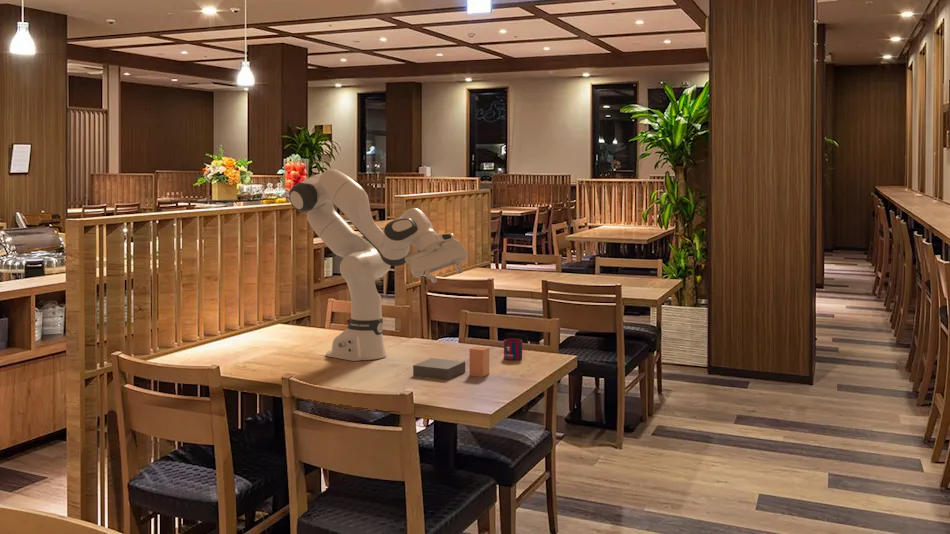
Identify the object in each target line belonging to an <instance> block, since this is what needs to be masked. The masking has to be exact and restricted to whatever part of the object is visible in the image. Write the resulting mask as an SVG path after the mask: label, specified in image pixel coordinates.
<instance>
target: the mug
mask: <svg viewBox="0 0 950 534" xmlns="http://www.w3.org/2000/svg"><path fill="white" fill-rule="evenodd" d="M503 360H506V361H513V362H514V361H521V360H523V340H522V339H520V338H507V339H504V340H503Z"/></svg>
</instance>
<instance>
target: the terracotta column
mask: <svg viewBox="0 0 950 534" xmlns="http://www.w3.org/2000/svg"><path fill="white" fill-rule="evenodd" d="M488 375H490V347H487V346H473V347H471V348H469V375H468V376H471V377H480V376H482V377H481V378H483V376H484V377H485V376H488Z"/></svg>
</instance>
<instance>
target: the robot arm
mask: <svg viewBox="0 0 950 534" xmlns="http://www.w3.org/2000/svg"><path fill="white" fill-rule="evenodd" d="M288 197H289V198H288V199H289V201H290V203H291V205H292V207H293V208H294V209H295V210H296V211H298V212H301V213H306V212H307V213H306V219H307V222H308V223H309V225H310V227H311V228H312V230H313V232H314V233H315V234H316V235H317V237H318V238H319V239H321V241H322V242H323V243H324V244H325V245H326V246H327V248H328V249H329V250H330V251H331V252H332V253H333V254H334V255H336V256H339V257H341V258H343V259H342V260H341V261H340V264H339V272H340V275H341V277H342V278H343V280H345V282H346V285H347V287H348V288H347V289H348V292H349V295H350V296H349V297H350V306H351V307H350V309H351V312H350V315H351V317H350V318H349V319H348V320H345V321H344V322H345V323H344V325H347V328H346V329H345V330H343V331H342V332H341V333H339V334H338V335H336V336H335V338H334V339H333V341H332V346H331V350H329V351H326V352H325V357H331V358H335V359H340V360H345V361H353V362H358V361H367V360H368V361H372V360H379V359H382V358H385V357H386V356H387V352H386V349H385V344H384V337H383V331H384V319H383V316H382V312H383V311H382V296H381V294H380V293H379V292H378V289H377V286H376V282H375V280H377V279H380V278H382V277H384V276H385V275H387V274H388V272H389V271H390V270H391V267H399V266H403V265H407V266H409V269H410V273H411V274H412V276H413V278H417V279H418V278H421V277H423V276H425V278H426V279H428V280H430V281H431V283H432V284H435V283H437V282H438V278H437V277H436V275H432V273H436V272H438V271H441V270H443V269H446V268H448V267H452V266H454V265H456V269H455V271H456V273H457V274H458V275H459V274H462V273H463V269H462V267H461V263H462V262H463V263H464V262H465V261H467V258H468V252H467V249H466V248H465V247H464V246H463V244H462V243H461V241H460V240H458V239H456V238H455V234H454V233H437V232H436V231H435V230H434V227H433V224H432V222H431V221H430V218H429V217H428V216H427V215H426V214H425V212H423V211H422V210H421V209H420V208H416V207H413V208H409V209H406V210H404V212H402V214H401V216H400V217H398V218H397V219H394V220H390V221H388V222H387V223H386V225H385V226H384V229H383V230H382V229H381V227H379V226H378V225H377V223H376V222H375V221H374V219H373V214H372V210H371V206H370V200H369V195H368V193H367V192H366V190H365V189H364V188H363V187H362V186H361V185H360V184H359V183H358V182H356V181H355V180H354V179H353V178H351V177H350V176H348V175H347V174H345V173H344V172H342V171H340V170H338V169H335V168H330V169H326V170H324V171H323V172H321V173H317V174H314V175H311V176H310V177H308V178H306V179H304V180H303V181H301V182H297V183H296V184H294V185H293V186H292V187H291V188H290V190H289V193H288ZM334 206H336V208H338V209H339V210H340V211H341V213H342V214H344V215H345V216H346V217H347V219H348V220H349V221H350V223H351V224H352V226H353V227H354V228H355V230H357V231H358V232H359V233H360V234H361V235H362V236H363V237H362V236H361V235H360V234H358V233H357V232H356V231H355V230H354V229H353V228H352V227H351V225H350V224H349V223H348V222H347V221H346V220H345V219H344V218H343V217H342V216H341V214H339V213H338V211H336V209H335V207H334ZM412 245H413V246H414V247H415V248H416V251H413V252H411V253H410V251H411V246H412Z"/></svg>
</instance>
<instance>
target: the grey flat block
mask: <svg viewBox="0 0 950 534" xmlns="http://www.w3.org/2000/svg"><path fill="white" fill-rule="evenodd" d="M465 372H466V361H465V360H464V361H463V360H453V359H444V358H437V357H435V358H433V357H431V358H428V359H426V360H423V361H420V362H418V363H416V364H413V365H412V376H413V377H418V376H421V377H420V378H427V377H429V378H428V379H435V378H436V380H437V379H439V380H445V381H446V380H447V381H449V380H451V379H453V378H455V377H457V376H460V375H463V373H465Z"/></svg>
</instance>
